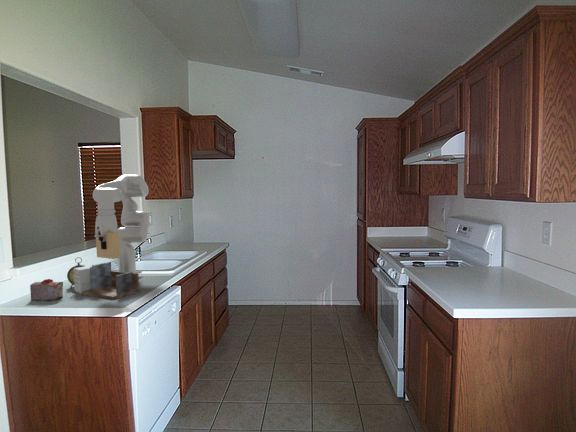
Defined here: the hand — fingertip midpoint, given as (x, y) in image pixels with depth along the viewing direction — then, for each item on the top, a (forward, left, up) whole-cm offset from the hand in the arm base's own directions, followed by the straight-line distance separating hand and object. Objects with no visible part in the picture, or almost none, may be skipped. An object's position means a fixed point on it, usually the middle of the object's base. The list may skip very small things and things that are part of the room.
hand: (107, 248), depth 187 cm
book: (0, 0, -5) cm, 5 cm away
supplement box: (+2, -16, -24) cm, 29 cm away
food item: (+19, -20, -24) cm, 37 cm away
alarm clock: (-4, -28, -24) cm, 37 cm away
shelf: (-1, 0, -24) cm, 24 cm away
